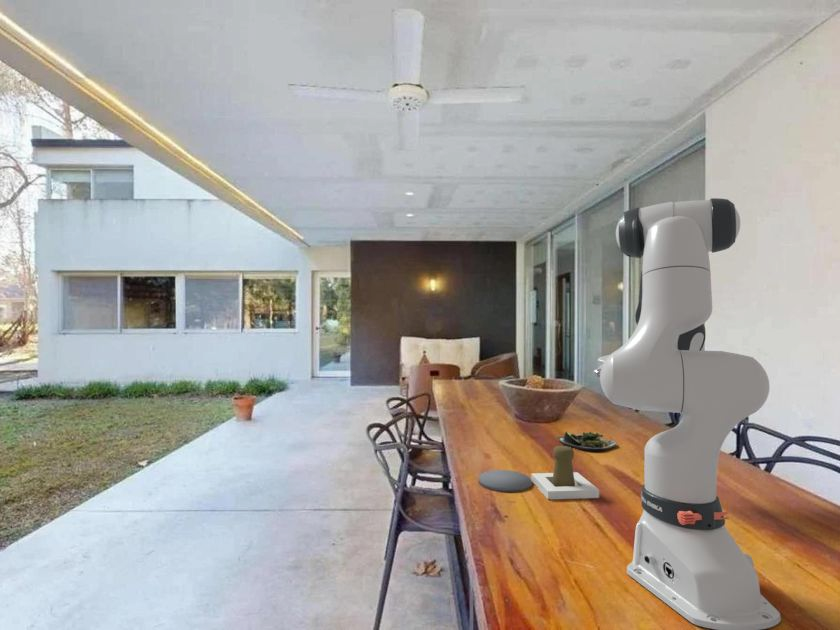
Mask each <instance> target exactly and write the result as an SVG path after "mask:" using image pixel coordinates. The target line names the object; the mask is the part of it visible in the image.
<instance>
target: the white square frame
mask: <svg viewBox="0 0 840 630" xmlns="http://www.w3.org/2000/svg"><path fill="white" fill-rule="evenodd" d="M553 473H554V472H543V473H540V472H538V473H536V472H535V473H534V472H533V473H530V479H531V483H532V484H535V485H536V486H537V487H538V488H537V487H536V486H535V485H534V486H535V487H536V488H537V490H539V491H540V493H541V494H544V495H543V496H544V497H545V498H546V499H547V500H549V499H550V500H573V499H574V500H575V499H578V500H579V499H580V498H581V499H599V498H600V489H599V488H597V486H595V485H594V484H593V483H592V482H590V481H589V480H588V479H587V478H585V477H584V476H583V475H581V474H580V473H579V472H577V471H575V472H574V471H573V474H574V481H575V486H563V487H555V486H554V485H553V484H552V481H553Z"/></svg>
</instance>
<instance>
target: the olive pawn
mask: <svg viewBox="0 0 840 630" xmlns="http://www.w3.org/2000/svg"><path fill="white" fill-rule="evenodd" d="M552 455H553V458H554V466H553V472H552V473H553V481H552V484H553V485H554V486H555V487H563V486H575V481H574V474H573V472H574V468H573V462H572V461H573V459H574V455H575V453H574V450H573V448H570V447H568V446H564V445H557V446H555V447H554V448H553V450H552Z"/></svg>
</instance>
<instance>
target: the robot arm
mask: <svg viewBox="0 0 840 630" xmlns="http://www.w3.org/2000/svg"><path fill="white" fill-rule="evenodd" d="M740 230H741V218H740V214H739V212H738V209H737V208H736V206H735V203H733V202H732V201H731V200H729V199H728V198H715V197H713V198H710V199H707V200H706V199H701V200H700V199H699V200H698V199H697V200H684V201H683V200H682V201H675V202H674V201H669V202H668V201H667V202H663V203H656V204H652V205H649V206H644V207H640V208H639V207H638V206H637V207H634V208H632V209H629V210H625V211H624V212H623V213H622V214H621V215H620V216H619V219H618V222H617V225H616V228H615V239H616V243H617V245H618V247H619V248H620V252H621V253H622V254H623V255H625V256H626V257H628V258H636V259H642V267H641V273H640V281H639V295H638V304H637V307H636V310H635V315H634V318H635V319H634V320H635V324H636V327H635V329H634V331H633V332H632V334H631V336H629V338H628V340H626V342H625V343H623V345H622V346H620V347H619V348H618V349H616V350H615V351H613V352H612V353H610V354H608V355H607V354H606V355H603V356H600V357H598V359H596V360H597V368H595V369H593V371H592V372H593V376H594V377H596V378H599V383H600V387H601V390H602V392H603V394H604V395H605V397H606V398H607V399H608V400H609V401H610V402H611V403H612V404H613V405H617V406H619V407H620V406H621V407H625V408H629V409H633V410H637V411H647V412H649V411H650V412H662V413H664V412H665V413H677V414H678V413H679V414H681V415H682V418H681V420H680V421H679V423H678V424H677V425H676V426H675V427H672V428H670V429H667V430H665V431H660V432H659V433H657V434H655V435H653V436H652V437H650V438H649V440H648V441H647V442H646V444H645V446H644V450H643V451H644V452H643V453H644V454H643V455H644V460H643V461H644V464H643V466H644V467H643V468H644V472H643V473H644V474H643V475H644V483H643V484H642V486H641V492H640V499H641V507H642V509H643V511H642V514H641V516H640V518H639V520H638V521H637V523H636V524H635V525H636V526H635V533H634V541H633V543H634V544H633V555H632V561H631V562H629V564H628V565H627V566H626V574H627V575H628V576H629V577H631V578H632V579H634V580H635V581H636V582H638V583H639V584H640V585H642V586H643V587H644V588H645V589H646V590H648V591H649V592H651V593H652V594H653V595H655V596H656V597H657V598H658V599H660V600H661V601H662V602H664V603H665V604H666V605H668V606H669V608H670V609H671V608H672V609H673V610H674V611H675V612H677V613H678V614H679V615H681V616H682V617H683V618H684V619H686V620H687V621H689V623H692V624H693V625H695V626H698V627H703V628H706V629H711V630H766V629H770V628H772V627H775V626H776V625H778V624H779V623H780V622H781V620H782V618H781V613H780V611H778V610H777V608H776V607H774V606H773V605H772V603H770V602H769V601H768V600H767V598H766V597H764V595H762V594H761V590H760V589H761V588H760V581H759V577H758V573H757V571H756V569H755V565H754V560H753V558H752V556H751V555H749V554H747V553H744V552H743V550H742V549H741V548H740V546H739V544H738V543H737V542H736V540H735V539H734V537H733V536H732V534H731V533H730V532H729V530H728V529H727V528H726V525H725V524H726V520H729V517H725V516H726V515H729V512H728V511H723V506H722V504H721V501H720V498H719V497H718V494H717V480H718V479H717V478H718V466H719V458H720V457H719V456H720V452H721V449H722V446H723V445H724V443H725V440H726V438H727V437H728V435H730V432H732V431H733V429H734V428H735V427H736V426H737V425H738V424H740V423H741V422H742V421H744V420H745V419H746V418H747V417H749V416H751V415H753V414H755V413H756V412H758V411H760V410H761V408H762V407H764V405H765V403H766V401H767V400H768V397H769V395H770V381H769V380H770V379H769V377H768V373H767V372H766V369H765V368H764V367H763V366H762V364H761V363H760V362H759V361H758V360H757V359H756V358H754V357H753V356H750V355H746V354H745V355H744V354H740V353H734V352H729V351H724V350H705V346H704V345H705V342H706V336H707V335H706V334H707V333H706V327H705V323H706V322H707V321H708V319H710V317H711V315H712V313H713V301H712V300H713V297H712V296H713V294H712V293H713V292H712V275H711V272H712V271H711V263H710V254H709V252H711V253H718V252H721V251H725V250H728V249H729V248H731V247H732V246H733V245H734V244H735V243H736V239H737V237H738V235H739V232H740Z"/></svg>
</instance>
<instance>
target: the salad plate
mask: <svg viewBox="0 0 840 630" xmlns="http://www.w3.org/2000/svg"><path fill="white" fill-rule="evenodd" d="M603 437H604V435H603V434H600V433H598V432H596V431H594V433H593V432H591V431H589V432H584V431H583V432H582V434H574V433H570V432H568V431H565V433H564V436H556V437H555V439H557V440H559V442H560V443H561V445H562V444H563V445H562V446H564V445H565V446H568V447H571V448H572V449H573V448H575V449H574V450H577V449H578V451H581V450H582V452H587V451H589V453H601V452H604V451H607V450H610V449H612V448H613V447H615V446H616V445H617V442H616V441H614V440H613V439H607V438H606V439H605V438H603ZM605 446H606V447H605Z"/></svg>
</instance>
